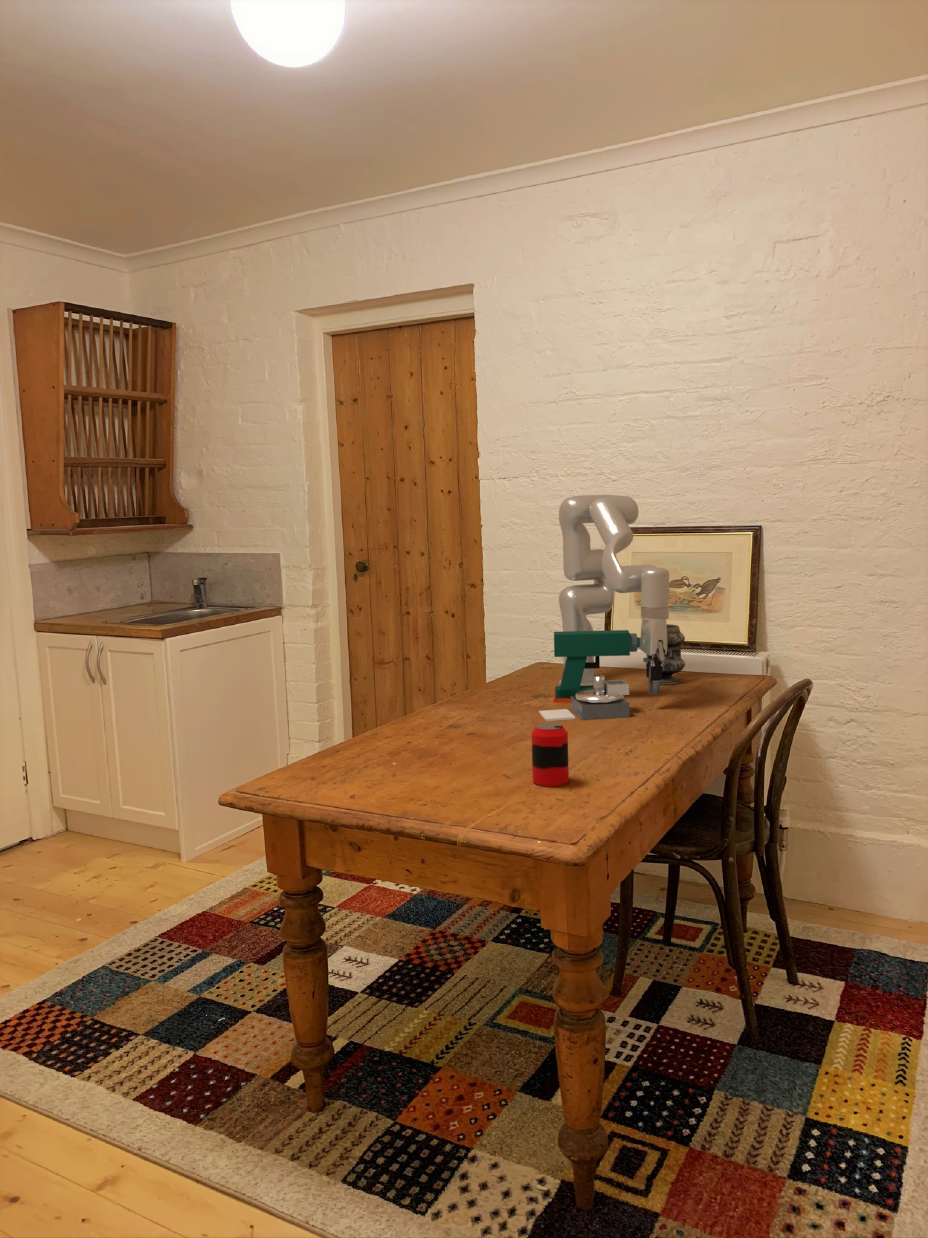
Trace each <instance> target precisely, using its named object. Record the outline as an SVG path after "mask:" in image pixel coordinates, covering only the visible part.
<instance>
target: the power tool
mask: <svg viewBox="0 0 928 1238" xmlns="http://www.w3.org/2000/svg"><path fill="white" fill-rule="evenodd" d="M637 635H638V633H636V632H635V633H633V632H632V633H631V632H630V631H629V630H628V629H621V630H620V629H618V630H617V629H615V630H593V631H563V630H562V631H553V652H554V653H553V654H554V656H553V657H554V658H563V657H567V658H566V663H565V667H564V666H563V670H562V671H563V672H562V676H561V679H562V680H561V679H560V680H561V684H560V685H555V686H554V687H555V688H554V692H555V693H554V694H553V703H554V704H556V703H557V704H558V703H559V704H562V703H565V704H566V703H567V704H568V703H570V704H571V696H575V695H576V693H577V692H580V691H585V690H593V685H586V686H580V685H581V680H582V676H583V672H584V669H594V670H595V669H601V666H600V661H601V660H600V657H617V656H618V657H619V656H620V657H622V656H623V657H624V656H627V657H629V656H631V653H635V652H636V653H637V652H638V649H639V648H640V640H641V637H638V636H637ZM587 656H594V662H586V659H587Z"/></svg>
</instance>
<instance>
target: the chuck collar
mask: <svg viewBox="0 0 928 1238" xmlns="http://www.w3.org/2000/svg"><path fill="white" fill-rule="evenodd" d="M627 695H628V696H629V695H630V683H628V682H627V681H625V680H624V679H615V680H610V679H609V680H606V675H603V674H594V676H593V690H585V691H580V692H577V693H576V699H577V700H579V701H583V702H592V703H606V702H615V701H619V700H622V699H623V698H624V699H625V696H627Z"/></svg>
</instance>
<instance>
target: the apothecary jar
mask: <svg viewBox="0 0 928 1238" xmlns="http://www.w3.org/2000/svg"><path fill="white" fill-rule="evenodd" d="M666 624H667V623H666ZM685 638H686V636H685V635H684V633H682V632H681V629H680V626H679V625H677V624H667V653H666V655H664V657H665V658H666V661H663V678H662V680H660V686H661V685H662V686H664V685H666V686H669V685H678V684H681V683H682V680H681V678H678V677H676V676H673V674H678V673H680V672H681V671H683V670H684V669H685V667H686V662H685V661H684V660H683V659H682V644H683V643H684V642H685ZM657 655H658V653H657ZM646 663H647V662H645V664H646Z"/></svg>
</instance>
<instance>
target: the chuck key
mask: <svg viewBox="0 0 928 1238" xmlns="http://www.w3.org/2000/svg"><path fill="white" fill-rule="evenodd" d="M656 658H658V657H655V659H656ZM663 661H666V658H665V657H664V660H663ZM642 662H643V663H646V662H649V678H648V694H649V695H660V694H661V685H660V680H657V681H652V680H651V666H652V657H649V658H646V657H643V659H642Z"/></svg>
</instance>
